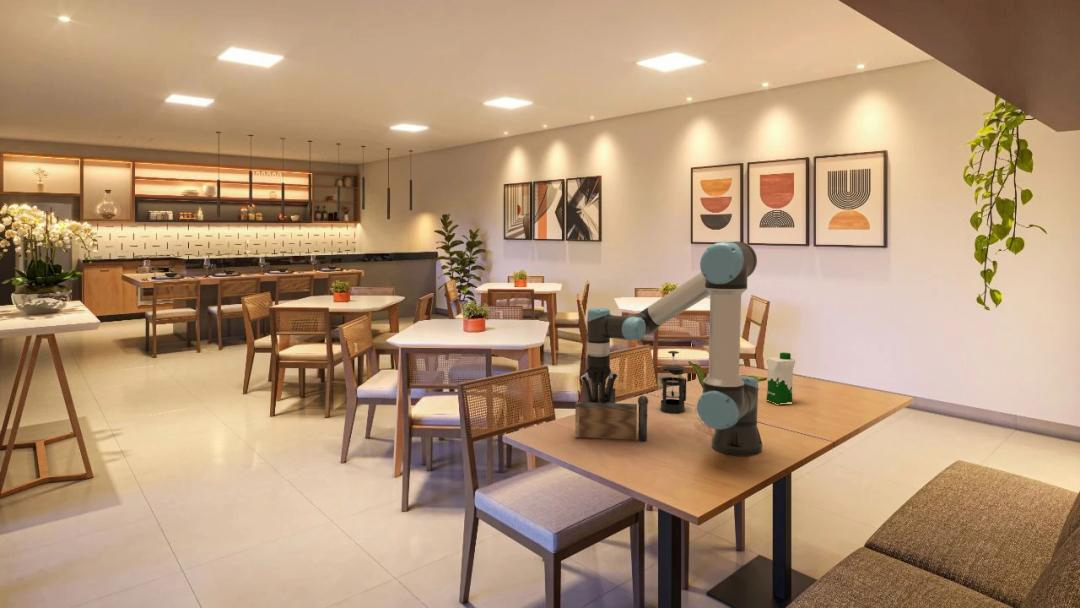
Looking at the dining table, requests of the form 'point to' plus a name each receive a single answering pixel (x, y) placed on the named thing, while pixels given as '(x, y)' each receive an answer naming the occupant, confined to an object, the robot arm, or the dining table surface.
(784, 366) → the milk carton
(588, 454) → the dining table surface
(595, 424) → the gate
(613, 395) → the latch post
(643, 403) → the gate post
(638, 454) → the dining table surface
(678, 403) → the french press
